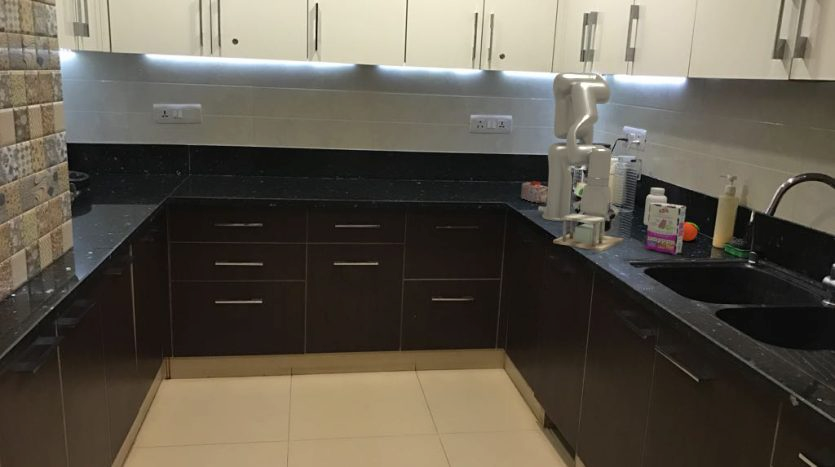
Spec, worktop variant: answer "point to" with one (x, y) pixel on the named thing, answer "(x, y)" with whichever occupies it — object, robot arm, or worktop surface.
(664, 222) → the candy bar box
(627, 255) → the worktop surface
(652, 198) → the pill bottle
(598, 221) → the overhang stand
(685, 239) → the clementine
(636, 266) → the worktop surface
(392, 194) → the worktop surface
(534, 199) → the food item
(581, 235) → the pale green block
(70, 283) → the worktop surface
